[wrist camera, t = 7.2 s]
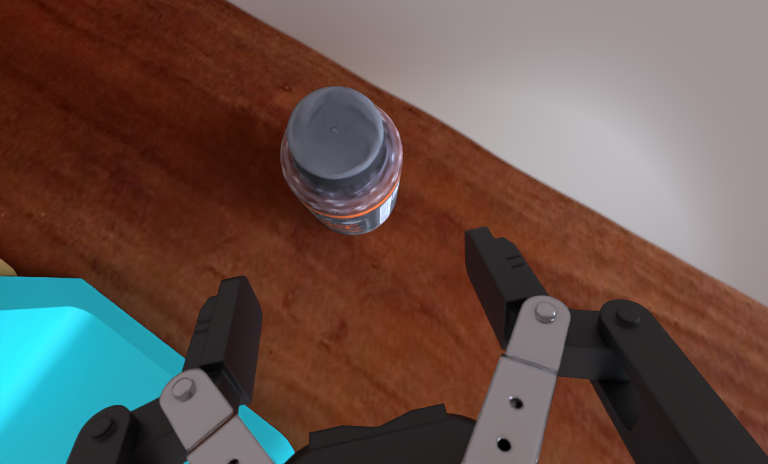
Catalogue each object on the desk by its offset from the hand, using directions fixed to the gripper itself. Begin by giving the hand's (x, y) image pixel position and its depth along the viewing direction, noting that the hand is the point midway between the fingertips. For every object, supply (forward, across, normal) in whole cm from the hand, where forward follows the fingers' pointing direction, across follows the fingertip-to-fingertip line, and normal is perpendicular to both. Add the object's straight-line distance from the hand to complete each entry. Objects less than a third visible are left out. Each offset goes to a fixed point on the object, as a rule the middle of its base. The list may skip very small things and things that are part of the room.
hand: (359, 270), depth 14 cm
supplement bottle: (+13, 0, +5) cm, 14 cm away
